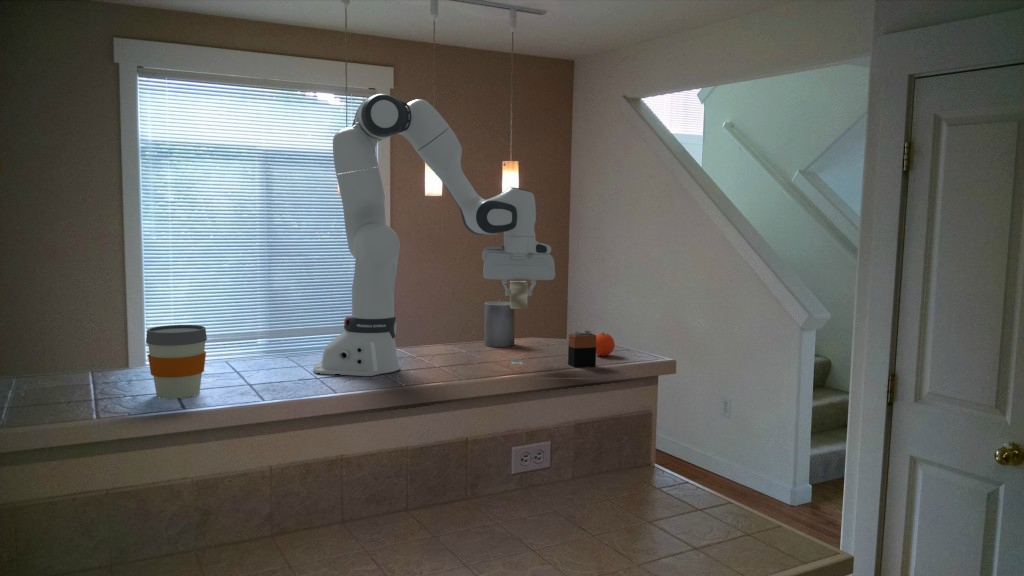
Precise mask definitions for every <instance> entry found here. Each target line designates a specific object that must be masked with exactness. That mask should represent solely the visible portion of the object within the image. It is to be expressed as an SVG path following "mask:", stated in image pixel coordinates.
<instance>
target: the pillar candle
mask: <svg viewBox="0 0 1024 576" xmlns="http://www.w3.org/2000/svg"><path fill="white" fill-rule="evenodd" d="M483 335H484V346H486V347H491V348H509V347H513V346H514V345H515V309H511V307H510V301H506V300H501V299H499V300H495V301H493V300H492V301H485V302H484V334H483Z"/></svg>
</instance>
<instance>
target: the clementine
mask: <svg viewBox="0 0 1024 576" xmlns="http://www.w3.org/2000/svg"><path fill="white" fill-rule="evenodd" d="M595 335H596V355H598V356H600V355H601V356H600V357H606V356H609V355H610V354H612V353H613V352H614V349H615V345H616V344H615V340H614V338H613V337H612V336H611V335H610V334H609V333H608V332H604V331H603V332H600V333H597V334H595Z"/></svg>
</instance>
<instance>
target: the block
mask: <svg viewBox="0 0 1024 576" xmlns="http://www.w3.org/2000/svg"><path fill="white" fill-rule="evenodd" d="M528 285H529V283H528V282H527V280H509V289H511V292H510V293H511V296H509V302H510V307H511V309H514V310H515V309H517V310H518V309H519V310H520V309H521V310H527V309H528V297H529V296H528V289H529V287H528Z"/></svg>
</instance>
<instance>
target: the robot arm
mask: <svg viewBox="0 0 1024 576" xmlns="http://www.w3.org/2000/svg"><path fill="white" fill-rule="evenodd" d="M394 135H401V136H403V138H405V139H406V140H407V141H408V142H409V143H410V144H411V146H412V148H413V149H414V151H415V152H416V153H417V154H418V155H419V157H420V158H421V159H422V161H423V162H424V163H425V164H426V166H428V167H429V168H430V169H431V171H432V172H433V173H434V174H435V175H436V176H437V177H438V178H439V180H440V181H441V182H442V184H443V186H444V187H445V188H446V190H447V191H448V192H449V194H450V196H451V198H453V200H454V201H455V203H456V204H457V207H458V209H459V212H460V214H461V220H462V222H463V224H464V227H465V228H466V229H467V230H468V232H470V233H471V234H473V235H476V236H482V235H483V236H484V235H497V234H500V233H503V245H501V246H499V245H496V246H492V245H489V246H487V247H485V248H483V250H482V251H481V252H482V253H481V258H482V259H481V260H482V261H483V270H482V272H483V273H482V277H483V278H484V279H485V280H501V284H502V286H503V288H504V290H505V291H504V292H505V296H506V297H510V296H511V293H510V292H511V289H510V288H508V287H507V283H508V281H530V284H531V285H530V287H529V288H528V297H532V296H533V289H534V288H535V286H536V285H537V281H552V280H554V278H556V268H555V267H556V265H555V259H554V257H553V256H552V255H551V254H550V253H551V252H552V247H551V246H550V245H549V244H545V243H543V242H541V241H537V239H536V232H535V224H536V222H537V221H536V220H537V215H536V214H537V213H536V212H537V211H536V210H537V209H536V208H537V207H536V198H535V196H534V194H533V192H532V191H530V190H528V189H525V188H521V187H508V188H507V189H506V190H505V191H503V192H501V193H499V194H497V195H495V196H493V197H490V198H488V199H485V198H483V197H481V196H480V195H479V194H478V192H476V190H475V189H474V187H473V186H472V184H471V182H470V181H469V180H468V178H467V177H466V175H465V173H464V171H463V170H462V163H461V161H462V152H463V148H462V145H461V143H460V141H459V140H458V137H457V135H456V134H455V132H454V130H453V129H452V128H451V126H450V125H449V124H448V123H447V121H446V119H444V118H443V116H442V115H441V113H440V112H438V110H436V108H435V107H434V106H433V105H431V104H430V103H429V102H428V101H427V100H425V99H421V98H418V99H417V98H416V99H413V100H411V101H409V102H405V101H403V100H401V99H398V98H396V97H394V96H392V95H391V94H386V93H377V94H374V95H372V96H369V97H367V98H366V99H365V100H363V101H362V103H360V105H359V107H358V108H357V110H356V112H355V115H354V118H353V122H352V125H351V126H348V127H345V128H342V129H340V130H338V131H337V132H336V133H335V134H334V136H333V139H332V155H333V156H332V157H333V164H334V171H335V174H336V179H337V184H338V188H339V193H340V198H341V204H342V208H343V209H342V210H343V221H344V228H345V233H346V240H347V246H348V249H349V252H350V254H351V256H352V257H353V258H354V259H355V261H354V262H355V263H354V273H353V282H352V286H351V315H348V316H346V317H345V318H344V321H343V329H344V331H343V332H341V333H340V334H339V335H337V336H336V337H335V338H334V339H332V340H331V341H330V342H329V343H328V344H326V346H325V347H324V349H323V352H322V358H321V361H319V362H317V363H316V364H315V365H314V366H313V370H312V371H313V373H315V374H317V373H320V374H321V375H335V374H340V376H358V377H359V376H361V377H372V376H377V375H381V374H388V373H393V372H396V371H399V370H400V369H401V366H400V363H399V359H398V354H397V346H396V335H397V321H396V320H397V319H396V316H395V286H396V285H395V283H396V278H397V277H396V276H397V271H398V265H399V264H398V263H399V262H398V261H399V253H400V250H401V243H400V239H399V236H398V234H397V233H396V231H395V230H394V229H393V228H392V227H390V226H389V225H387V221H386V220H387V219H386V208H385V207H386V206H385V205H386V204H385V201H386V196H385V195H386V194H385V191H384V186H383V185H384V184H383V181H382V176H381V172H380V167H379V163H378V159H377V152H376V151H377V150H376V149H377V144H378V143H379V142H380V141H382V140H386V139H389V138H391V137H392V136H394Z"/></svg>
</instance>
